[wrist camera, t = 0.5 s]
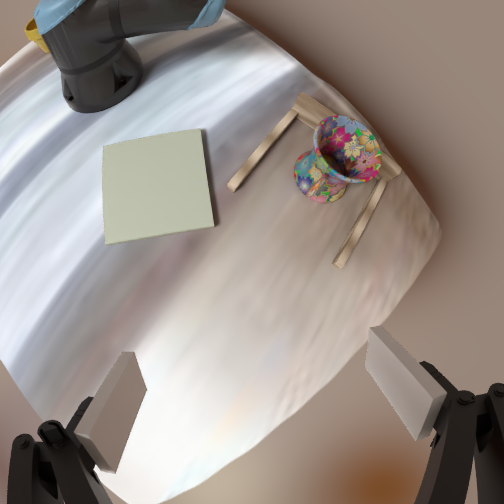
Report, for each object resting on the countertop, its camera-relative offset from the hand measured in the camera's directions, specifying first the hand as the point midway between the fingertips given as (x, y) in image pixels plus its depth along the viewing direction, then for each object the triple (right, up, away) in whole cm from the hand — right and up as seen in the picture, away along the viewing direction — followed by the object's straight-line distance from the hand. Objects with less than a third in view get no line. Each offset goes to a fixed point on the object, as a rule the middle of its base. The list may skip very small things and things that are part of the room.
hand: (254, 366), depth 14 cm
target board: (-14, +16, +23) cm, 31 cm away
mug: (+9, +16, +27) cm, 32 cm away
